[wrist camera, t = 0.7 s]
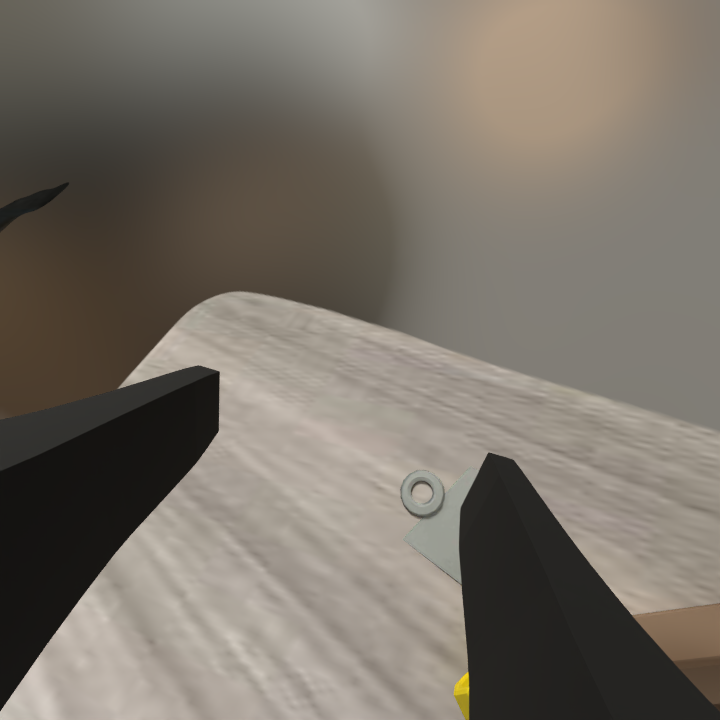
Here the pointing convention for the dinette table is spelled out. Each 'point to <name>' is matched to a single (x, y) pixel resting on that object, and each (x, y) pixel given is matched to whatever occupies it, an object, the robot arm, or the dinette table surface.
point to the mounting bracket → (438, 519)
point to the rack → (690, 643)
